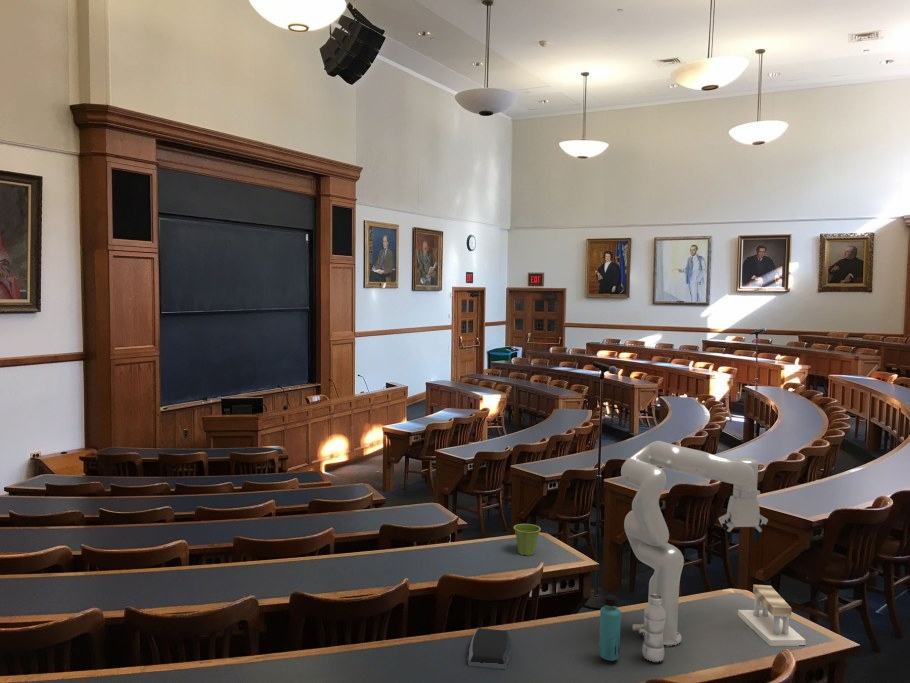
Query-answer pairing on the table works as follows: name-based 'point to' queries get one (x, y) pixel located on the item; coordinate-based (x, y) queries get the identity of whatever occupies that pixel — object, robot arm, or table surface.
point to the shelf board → (772, 600)
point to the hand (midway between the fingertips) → (742, 541)
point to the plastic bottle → (654, 629)
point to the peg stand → (771, 626)
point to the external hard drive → (489, 646)
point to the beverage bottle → (609, 629)
